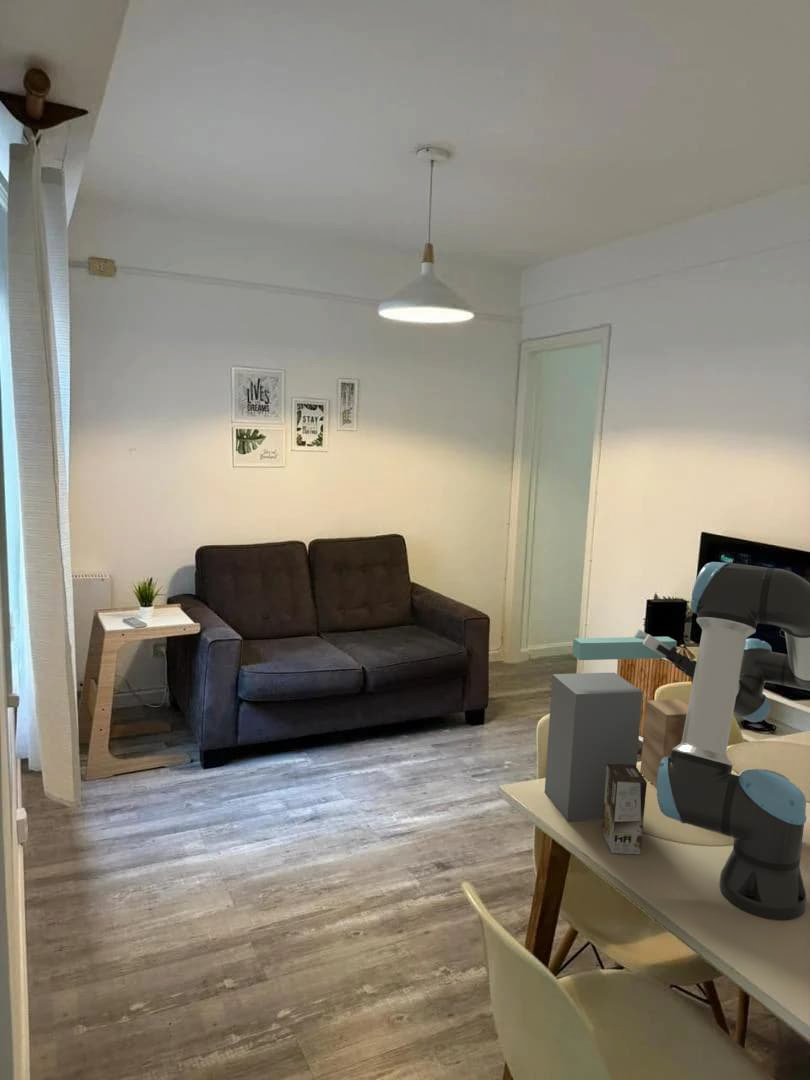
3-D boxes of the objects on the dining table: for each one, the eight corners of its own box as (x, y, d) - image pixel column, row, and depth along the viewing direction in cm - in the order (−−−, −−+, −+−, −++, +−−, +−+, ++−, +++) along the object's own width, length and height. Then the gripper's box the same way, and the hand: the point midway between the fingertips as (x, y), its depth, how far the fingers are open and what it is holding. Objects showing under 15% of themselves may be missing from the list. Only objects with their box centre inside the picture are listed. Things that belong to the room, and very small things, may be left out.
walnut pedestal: (675, 772, 201) (681, 699, 198) (696, 789, 191) (703, 713, 188) (640, 774, 199) (646, 700, 196) (659, 792, 189) (666, 714, 186)
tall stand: (605, 788, 190) (614, 672, 186) (632, 816, 176) (642, 692, 172) (544, 792, 187) (552, 674, 182) (567, 821, 173) (576, 694, 169)
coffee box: (641, 855, 160) (648, 782, 158) (611, 853, 160) (616, 781, 158) (630, 832, 169) (635, 763, 167) (600, 831, 169) (606, 762, 167)
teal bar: (666, 652, 182) (667, 636, 181) (675, 657, 178) (676, 641, 178) (572, 655, 177) (573, 638, 177) (579, 660, 173) (580, 643, 173)
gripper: (727, 708, 175) (650, 661, 170) (686, 683, 192) (615, 640, 186) (744, 680, 175) (668, 632, 169) (702, 658, 192) (631, 614, 186)
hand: (641, 636), depth 178 cm, fingers closed on teal bar, 4 cm apart
